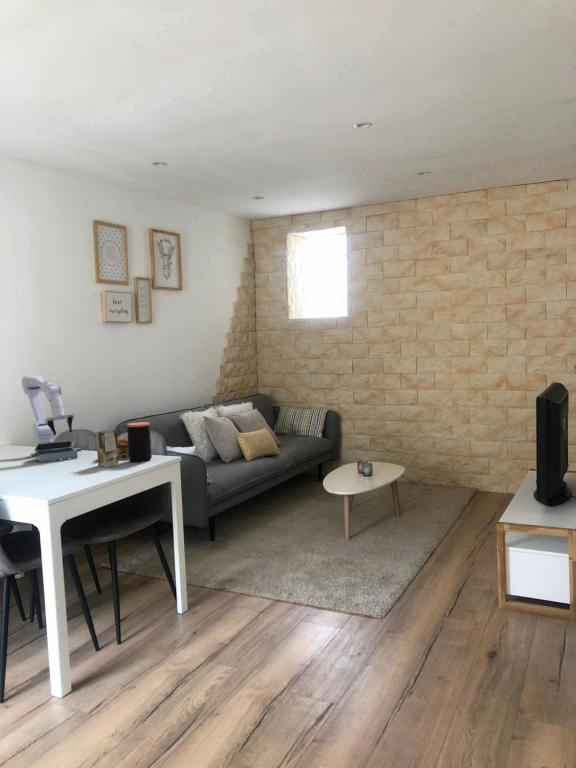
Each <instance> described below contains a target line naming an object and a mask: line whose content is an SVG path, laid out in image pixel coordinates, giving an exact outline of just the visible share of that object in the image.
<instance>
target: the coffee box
mask: <svg viewBox="0 0 576 768" xmlns="http://www.w3.org/2000/svg"><path fill="white" fill-rule="evenodd" d="M117 433H118V432H117V431H116V430H108V429H107V430H100V431H96V432H95V438H96V441H95V442H96V452H97V453H96V454H97V465H100V466H99V467H102V466H104V468H111V467H110V466H113V467H117V466H116V465H118V466H119V459H118V450H117V438H118V436H117Z"/></svg>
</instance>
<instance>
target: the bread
mask: <svg viewBox="0 0 576 768" xmlns="http://www.w3.org/2000/svg"><path fill="white" fill-rule="evenodd" d="M117 450H118V458H126V459H129V450H128V436H127V437H117Z"/></svg>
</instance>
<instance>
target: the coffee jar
mask: <svg viewBox="0 0 576 768" xmlns="http://www.w3.org/2000/svg"><path fill="white" fill-rule="evenodd" d="M126 424H127V425H126V426H127V432H126V433H127V437H128V450H129V458H128V459H129V461H130V462H131V461H132V462H131V463H142V462H141V461H146V462H148V461H147V460H150V459H151V460H152V453H153V452H152V442H151V441H152V437H151V428H150V425H151V424H150V422H149V421H148V422H147V421H141V422H131V423H126ZM151 460H150V461H151Z"/></svg>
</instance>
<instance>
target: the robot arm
mask: <svg viewBox="0 0 576 768" xmlns="http://www.w3.org/2000/svg"><path fill="white" fill-rule="evenodd" d="M43 377H44V376H42V375H31V376H30V375H29V376H26V375H25V376H23V377H22V379H21V386H22V389H23V391H24V394H25V395H27V396H28V400H29V403H30V406H31V408H32V412H33V415H34V418H35V423H33V426H32V430H33V435H34V437H35V438H36V439H37V444H38V443H42V442H52V441H54V440H53V438H54V436H57V430H56V427H55V423H54V422H55V421H61V420H66V423H67V427H68V429H69V430H68V431H69V433H72V431H73V430H72V428H73V427H72V424H73V420H74V418H75V413H74V412H72V413H65V409H64V406H63V402H62V398H61V394H62V387H61V386H59V384H58V385H54V384H53V383H51V382H50V381H49V380H44V378H43ZM41 392H43V393H44V394H45V397H46V399H47V401H48V403H49V406H50V410H51V414H52V416H50V417H46V414H45V412H44V408H43V406H42V403H41V399H40V396H39V395H40V393H41ZM49 450H51V449H49ZM40 451H42V450H40Z"/></svg>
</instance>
